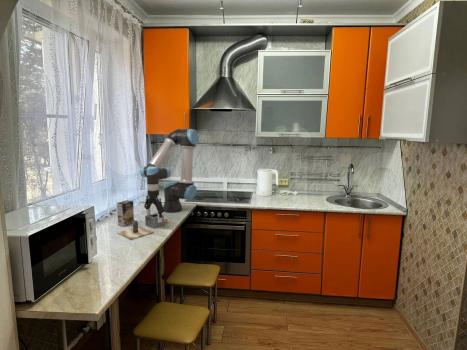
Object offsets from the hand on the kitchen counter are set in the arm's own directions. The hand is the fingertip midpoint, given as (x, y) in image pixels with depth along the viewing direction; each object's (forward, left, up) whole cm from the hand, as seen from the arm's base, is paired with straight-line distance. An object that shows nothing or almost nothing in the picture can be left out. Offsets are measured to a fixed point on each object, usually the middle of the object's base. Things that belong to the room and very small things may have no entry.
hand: (154, 220), depth 218 cm
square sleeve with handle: (-3, 0, -4) cm, 5 cm away
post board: (+17, +4, -4) cm, 17 cm away
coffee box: (+12, -17, -4) cm, 21 cm away
